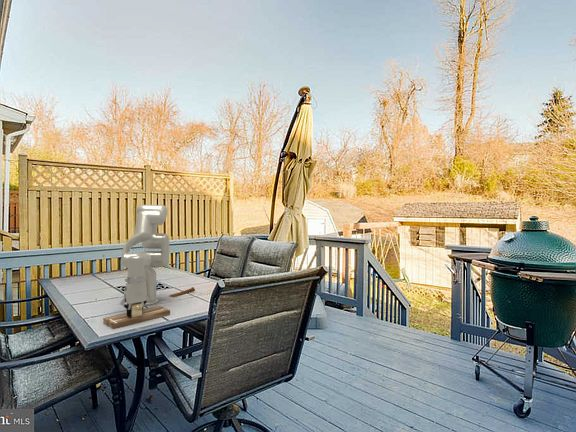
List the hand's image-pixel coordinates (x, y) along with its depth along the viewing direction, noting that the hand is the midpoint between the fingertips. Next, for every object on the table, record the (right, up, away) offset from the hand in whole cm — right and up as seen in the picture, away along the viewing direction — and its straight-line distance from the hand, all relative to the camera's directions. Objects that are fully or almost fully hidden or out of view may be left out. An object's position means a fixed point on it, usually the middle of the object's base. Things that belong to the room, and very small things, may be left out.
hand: (134, 315), depth 160 cm
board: (0, -3, +3) cm, 5 cm away
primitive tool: (+6, -4, +54) cm, 55 cm away
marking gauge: (0, 0, 0) cm, 0 cm away
